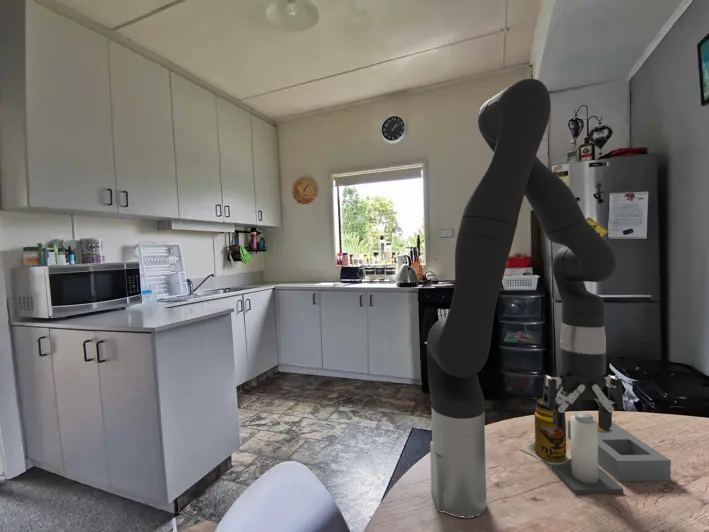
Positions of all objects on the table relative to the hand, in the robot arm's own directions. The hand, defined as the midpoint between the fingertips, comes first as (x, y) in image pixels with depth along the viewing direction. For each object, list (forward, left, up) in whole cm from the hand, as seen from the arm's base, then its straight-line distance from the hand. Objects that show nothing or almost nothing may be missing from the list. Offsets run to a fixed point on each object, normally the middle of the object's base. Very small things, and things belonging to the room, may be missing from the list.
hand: (582, 429), depth 70 cm
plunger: (+11, +13, -10) cm, 20 cm away
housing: (+11, +8, -10) cm, 17 cm away
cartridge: (0, 0, -9) cm, 9 cm away
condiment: (-2, +9, -10) cm, 14 cm away
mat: (0, 0, -10) cm, 10 cm away
